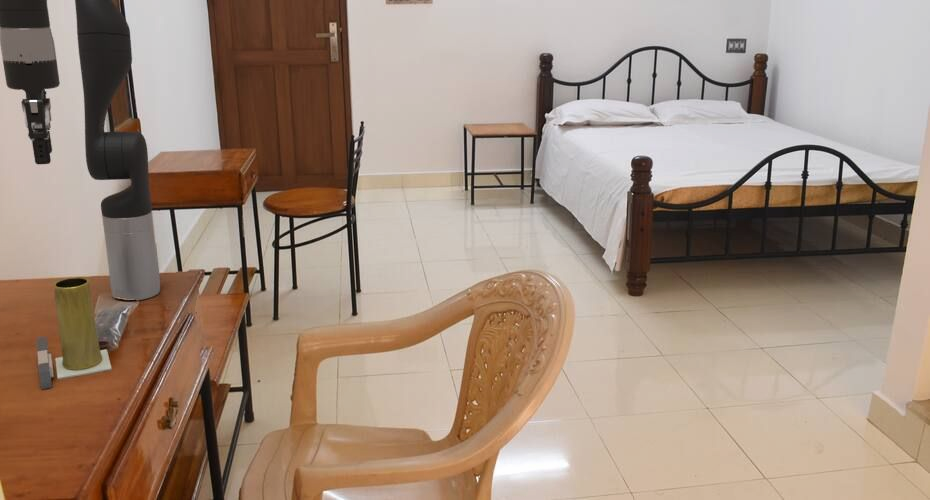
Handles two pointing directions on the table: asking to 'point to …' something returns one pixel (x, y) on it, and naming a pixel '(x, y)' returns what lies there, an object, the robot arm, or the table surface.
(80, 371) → the pad
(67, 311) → the vase
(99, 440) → the table surface
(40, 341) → the price rail
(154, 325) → the table surface
